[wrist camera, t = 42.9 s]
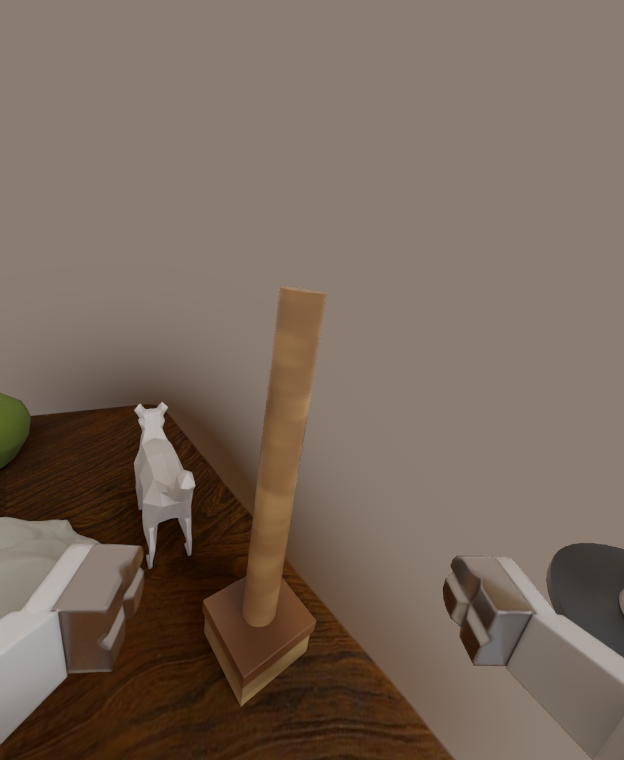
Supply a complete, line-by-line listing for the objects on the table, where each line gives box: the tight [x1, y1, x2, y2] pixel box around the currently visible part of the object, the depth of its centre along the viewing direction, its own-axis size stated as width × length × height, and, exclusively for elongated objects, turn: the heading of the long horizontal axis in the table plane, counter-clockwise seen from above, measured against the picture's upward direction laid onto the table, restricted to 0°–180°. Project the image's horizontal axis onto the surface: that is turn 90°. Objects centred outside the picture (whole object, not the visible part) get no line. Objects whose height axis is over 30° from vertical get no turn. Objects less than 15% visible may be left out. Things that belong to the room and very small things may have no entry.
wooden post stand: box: [202, 286, 327, 706], centre depth 22 cm, size 6×6×28 cm
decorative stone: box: [0, 517, 100, 619], centre depth 26 cm, size 11×9×10 cm
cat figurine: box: [134, 402, 195, 569], centre depth 33 cm, size 4×20×14 cm, turn 32°
